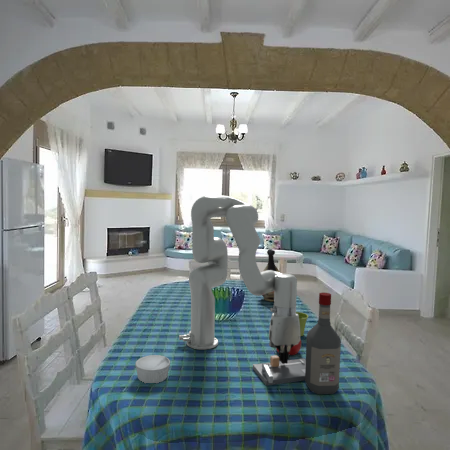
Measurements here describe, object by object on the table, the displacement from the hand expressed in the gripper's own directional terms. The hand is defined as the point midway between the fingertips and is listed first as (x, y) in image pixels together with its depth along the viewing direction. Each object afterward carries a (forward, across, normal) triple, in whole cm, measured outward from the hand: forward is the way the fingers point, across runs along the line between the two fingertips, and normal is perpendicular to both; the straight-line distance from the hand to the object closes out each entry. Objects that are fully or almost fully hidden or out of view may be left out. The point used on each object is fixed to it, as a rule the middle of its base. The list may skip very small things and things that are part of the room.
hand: (283, 361), depth 130 cm
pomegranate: (+3, +8, +12) cm, 15 cm away
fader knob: (+1, -3, 0) cm, 3 cm away
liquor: (+3, +6, -14) cm, 16 cm away
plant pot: (+3, +20, +28) cm, 35 cm away
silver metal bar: (+1, -9, -7) cm, 11 cm away
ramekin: (+3, -44, +6) cm, 45 cm away
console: (+3, 0, -3) cm, 4 cm away
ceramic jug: (+3, +31, +81) cm, 87 cm away
